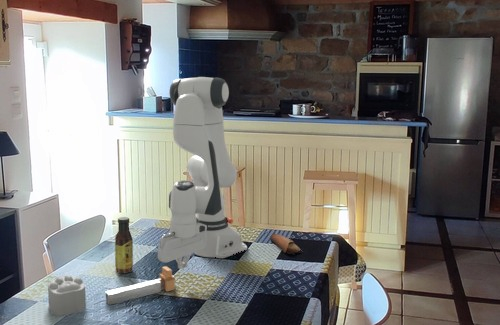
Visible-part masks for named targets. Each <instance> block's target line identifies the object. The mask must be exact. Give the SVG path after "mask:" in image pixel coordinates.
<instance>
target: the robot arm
mask: <svg viewBox="0 0 500 325" xmlns="http://www.w3.org/2000/svg"><path fill="white" fill-rule="evenodd" d="M229 94H230V91H229V85H228V83H227V82H226V80H225V79H223V78H221V77H208V76H207V77H206V76H197V77H187V78H184V77H180V78H177V79H174V80H173V81H172V82H171V84H170V86H169V98H170V100H171V102H172V104H173V106H175V107H174V112H173V118H172V120H173V121H172V122H173V125H172V136H173V141H174V142H175V144H176V145H177V146H178V148H180V149H181V150H183V151H186V152H188V153H189V154H193V156H191V157H190V158H189V159H188V160H187V164H186V169H187V170H186V171H187V173H188V174H189V177H190V178H191V180H192V181H190V180H179V181H175V182H174V183H173V185H172V188H171V191H170V192H169V193H168V209H169V210H170V213H171V216H170V220H169V221H170V222H169V225H170V226H169V227H170V228H169V229H170V230H169V233H165V234H162V237H160V238H159V243H158V248H157V259H158V261H159V262H161V263H163V264H167V263H169V262H172V261H174V260H175V261H176V263H177V268H178V269H179V270H182V269H185V268H187V267H188V262H189V260H190V258H191V255H192V254H195V255H196V256H198V257H204V258H215V257H216V259H225V258H228V257H230V256H234V255H236V253H237V254H239V253H242V252H245V251H248V246H247V245H246V243H244V242H243V240H242V236H241V234H240V233H239V231H237V230H236V229H234V228H233V227H232V226H230V225H229V224H233V222H234V219H233V218H231V217H227V216H225V215H226V214H225V213H226V212H225V211H226V201H225V199H226V198H225V196H224V195H223V192H222V190H221V189H225V188H226V189H227V188H230V187H232V186H234V184H235V182H236V181H237V178H238V170H237V167H236V166H235V165H234V164H233V162H232V160H231V158H230V155H229V153H228V150H227V145H226V140H225V129H224V127H225V126H224V125H225V123H224V114H223V106H225V105H226V103H227V102H228V99H229ZM244 250H245V251H244ZM241 251H242V252H241ZM238 252H239V253H238ZM233 254H234V255H233Z"/></svg>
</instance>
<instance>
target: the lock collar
mask: <svg viewBox="0 0 500 325" xmlns="http://www.w3.org/2000/svg"><path fill="white" fill-rule="evenodd" d="M158 275H159V276H158V279H160V278H163V279H164V280H165V289H164V290H165V292H170V291H175V289H176V288H175V286H176V283H175V282H176V280H175V278H176V277H174V276H175V275H173V270H172V269H171V268H169V267H168V266H167V265H166V266H165V265H164V266H162V267H161V273H159V274H158ZM172 275H173V276H172Z"/></svg>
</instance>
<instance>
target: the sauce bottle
mask: <svg viewBox="0 0 500 325" xmlns="http://www.w3.org/2000/svg"><path fill="white" fill-rule="evenodd" d="M117 224H118V230H117V233H116V234H115V238H114V240H115V241H114V242H115V243H114V257H115V258H114V261H115V262H114V265H115V266H114V267H115V272H116V273H118V274H128V273H131V272H132V271H133V266H134V256H133V255H134V252H133V251H134V249H133V247H134V246H133V243H134V242H133V237H132V234H131V231H130V217H127V216H121V217H118V218H117Z"/></svg>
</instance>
